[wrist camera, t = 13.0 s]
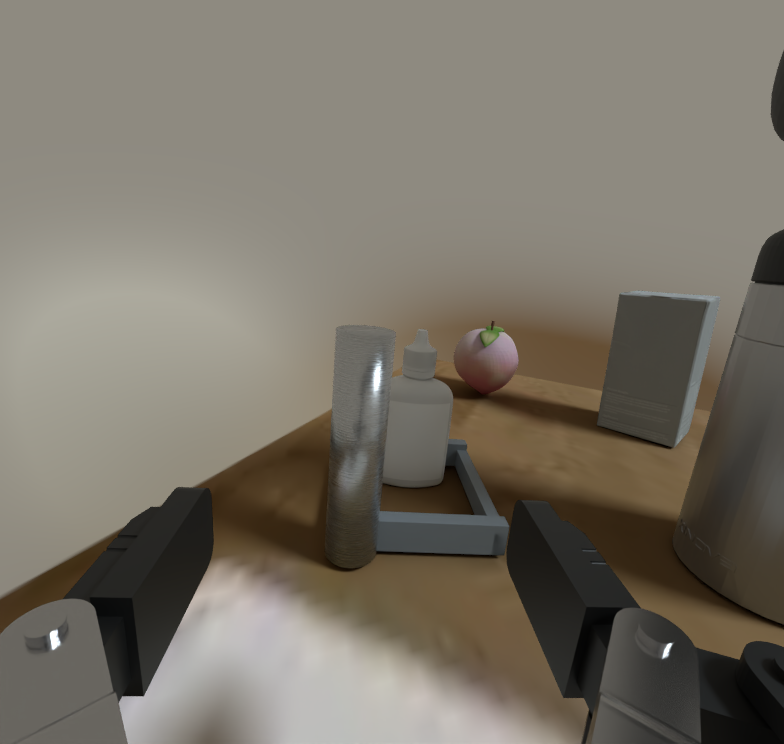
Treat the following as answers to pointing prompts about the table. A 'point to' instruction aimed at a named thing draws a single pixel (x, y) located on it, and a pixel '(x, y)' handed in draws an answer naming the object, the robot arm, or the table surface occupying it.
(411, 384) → the eye dropper bottle
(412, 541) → the pull frame
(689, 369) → the skincare box
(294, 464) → the table surface
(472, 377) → the decorative fruit
